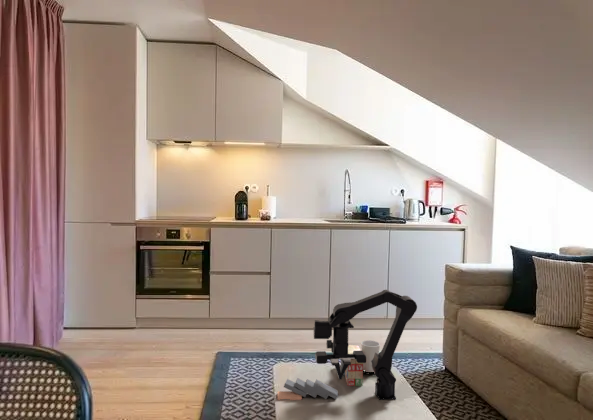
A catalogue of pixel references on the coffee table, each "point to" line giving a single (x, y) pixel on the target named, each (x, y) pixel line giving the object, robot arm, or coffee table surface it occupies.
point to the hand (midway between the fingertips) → (340, 379)
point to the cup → (369, 353)
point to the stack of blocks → (354, 369)
